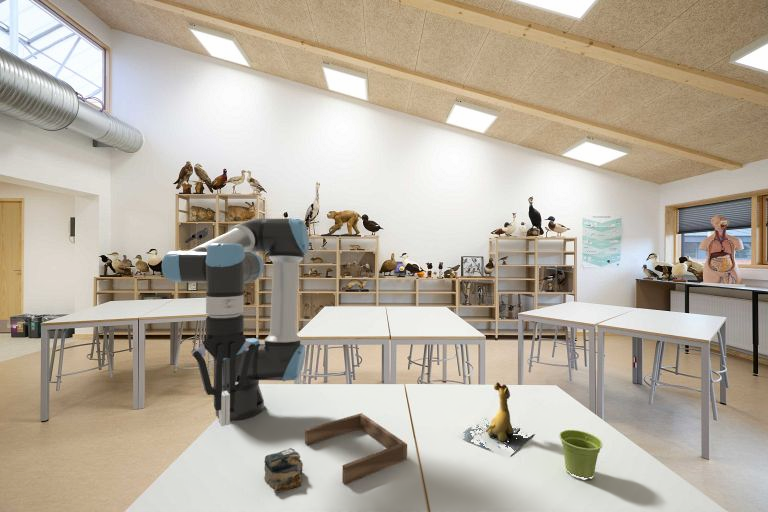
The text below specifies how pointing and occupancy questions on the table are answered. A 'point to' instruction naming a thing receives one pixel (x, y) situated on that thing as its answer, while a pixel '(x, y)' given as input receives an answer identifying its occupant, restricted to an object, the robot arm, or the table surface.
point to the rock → (283, 470)
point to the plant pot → (580, 452)
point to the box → (369, 463)
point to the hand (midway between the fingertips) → (224, 423)
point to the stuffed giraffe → (501, 423)
